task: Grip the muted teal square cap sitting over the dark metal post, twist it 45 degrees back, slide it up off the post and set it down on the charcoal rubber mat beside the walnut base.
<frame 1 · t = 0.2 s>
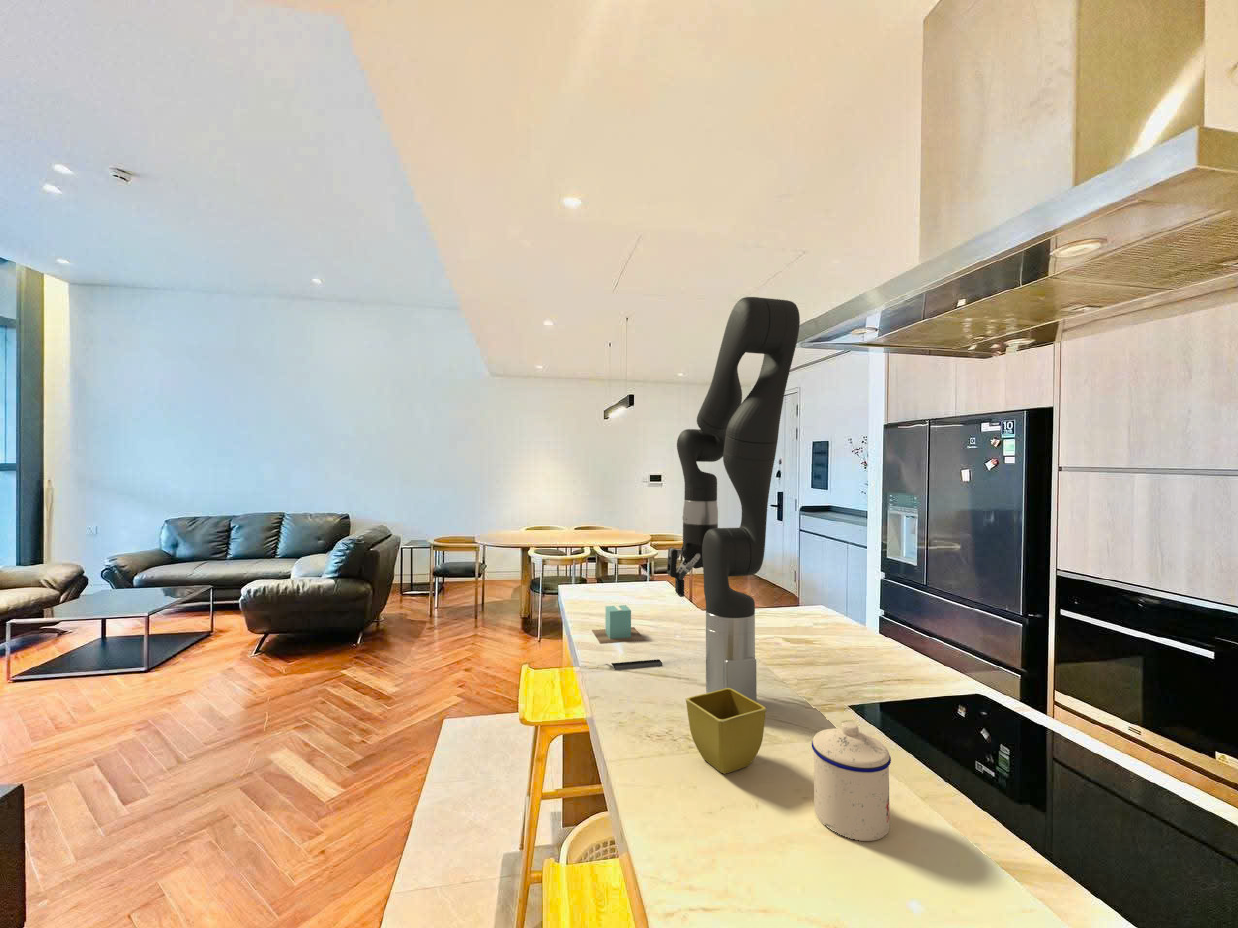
hand: (699, 595, 112), 17 cm above the countertop, tool pointing down, fingers open, 8 cm apart
flower pot: (725, 764, 77), on the countertop
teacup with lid: (844, 813, 66), on the countertop
post base: (618, 640, 136), on the countertop
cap: (618, 634, 136), point 1 cm above the countertop, touching post base
mat: (632, 659, 122), on the countertop
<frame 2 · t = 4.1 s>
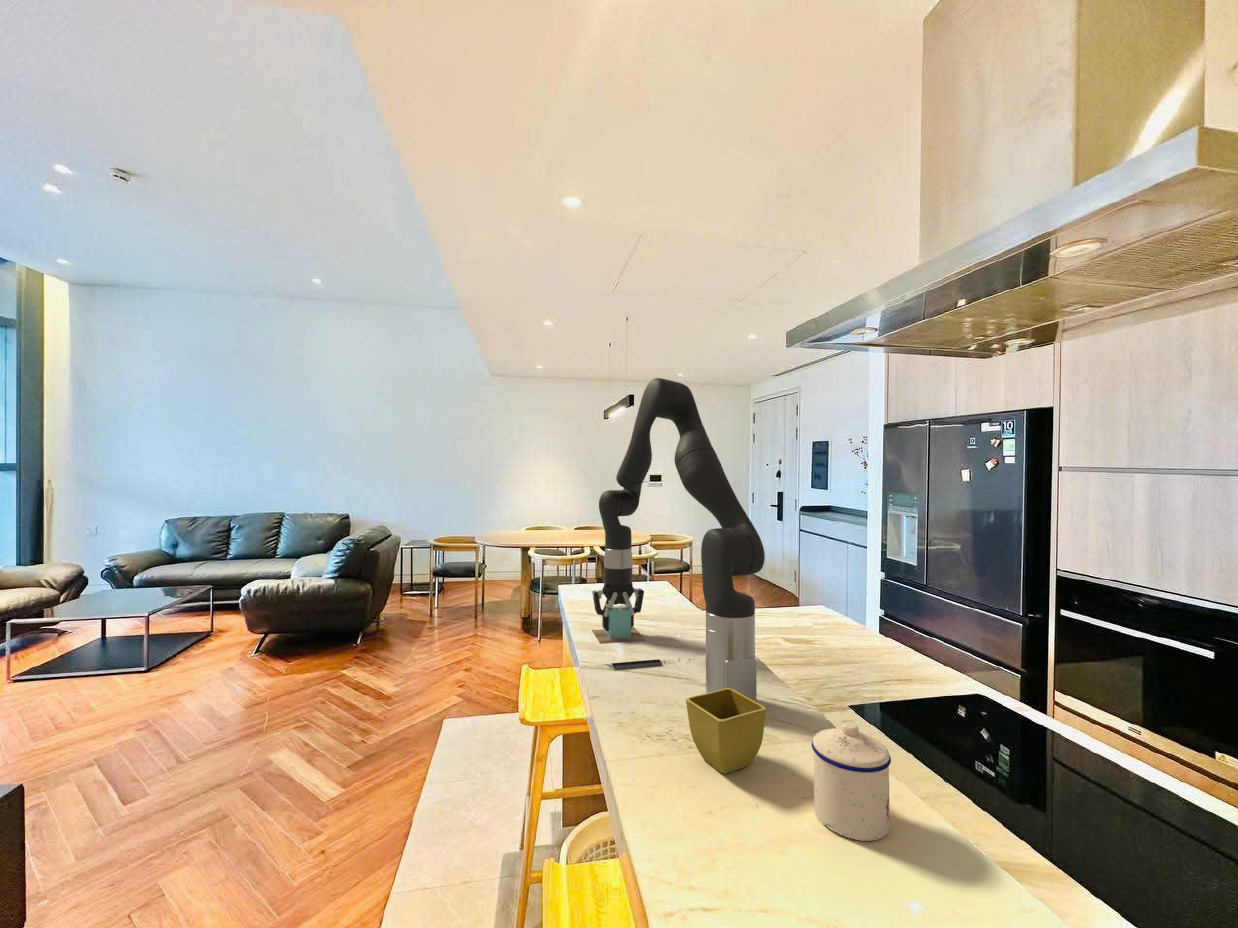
hand: (618, 629, 136), 3 cm above the countertop, tool pointing down, fingers closed on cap, 5 cm apart
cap: (618, 634, 136), point 2 cm above the countertop, touching gripper, post base
everything else where it was.
when the fingers open (4 cm above the countertop, at t = 12.1 s): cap drops 2 cm, resting on mat.
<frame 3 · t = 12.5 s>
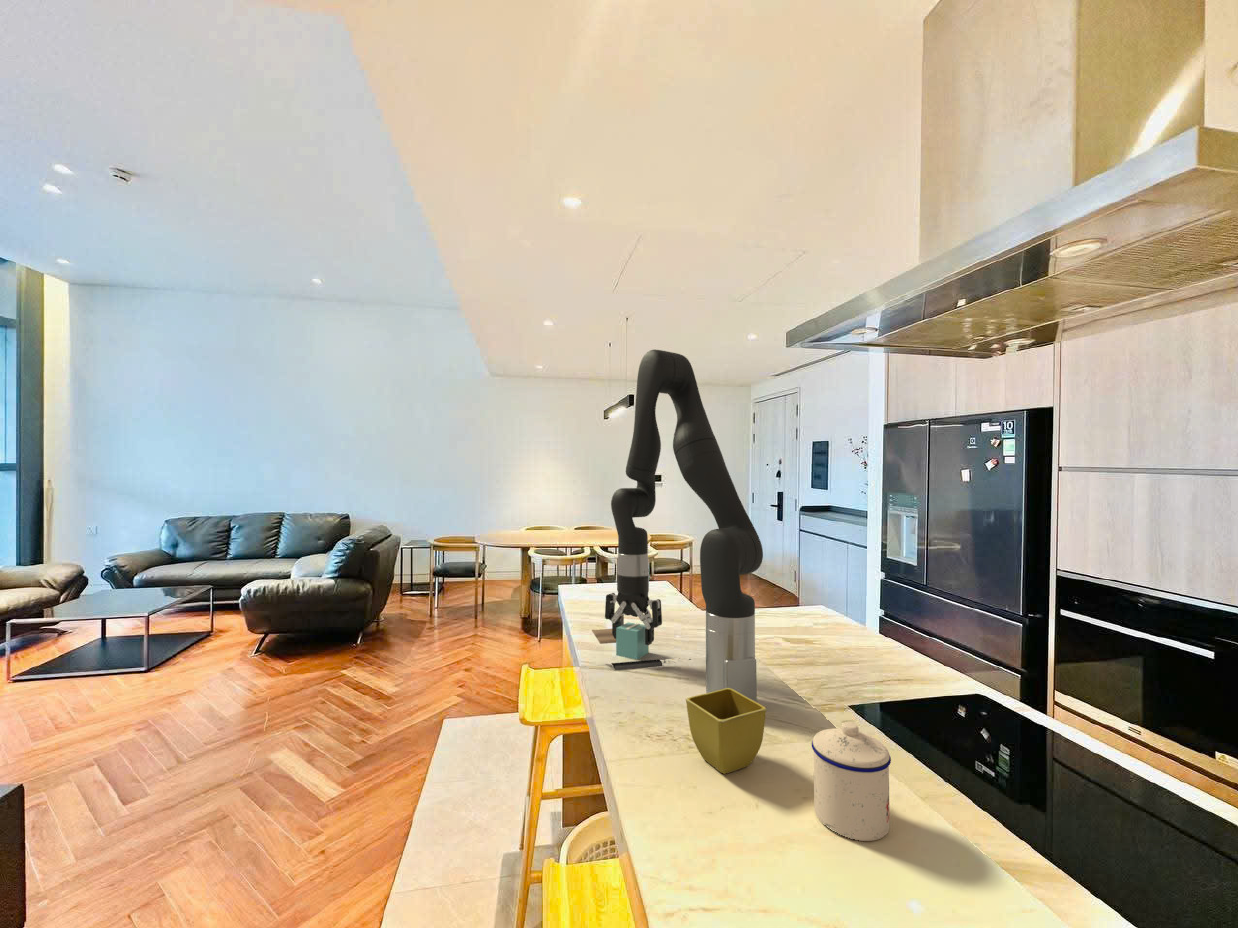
hand: (632, 641, 122), 4 cm above the countertop, tool pointing down, fingers open, 8 cm apart
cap: (632, 656, 121), point 1 cm above the countertop, touching mat
everything else where it was.
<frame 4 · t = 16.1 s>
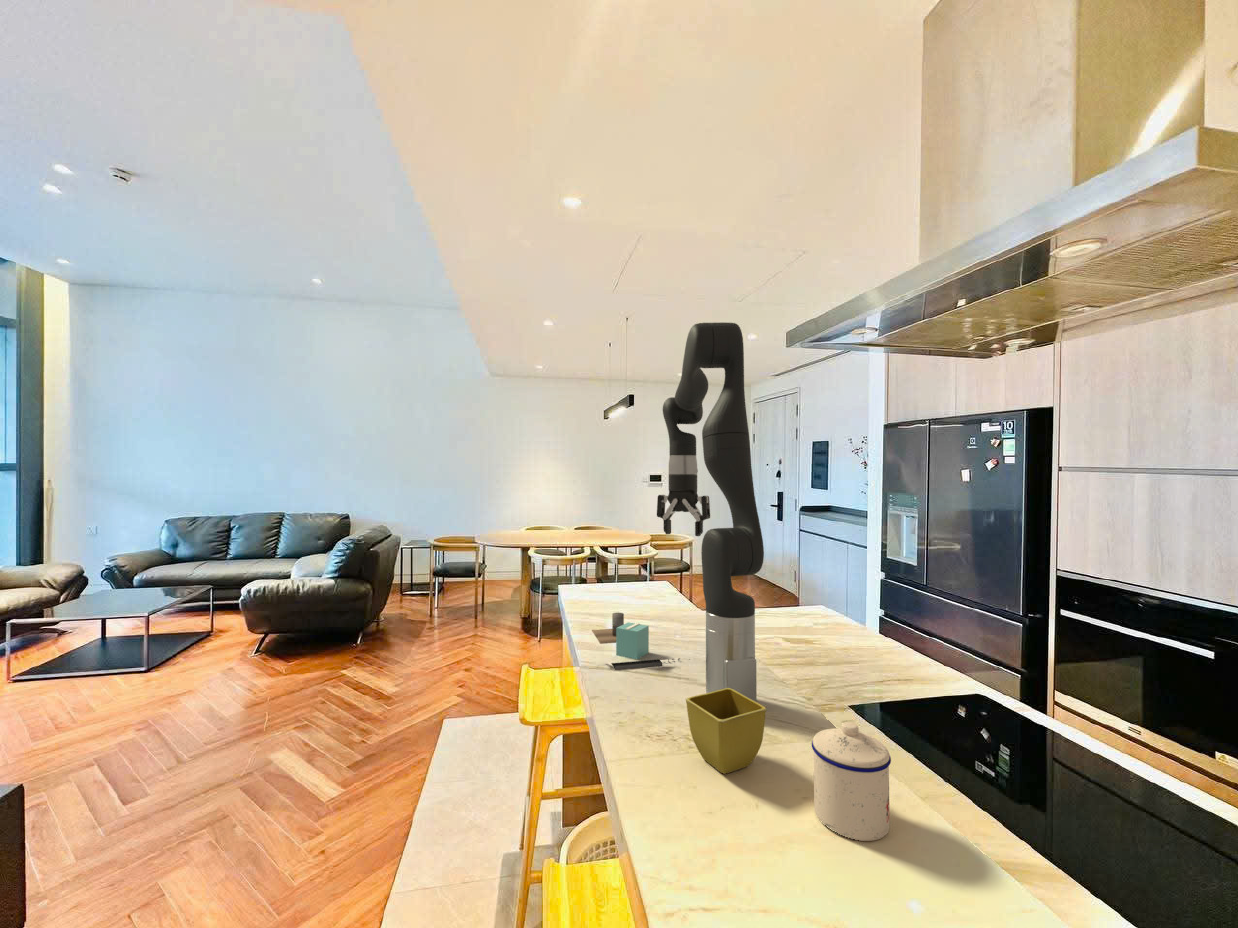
hand: (682, 534, 135), 28 cm above the countertop, tool pointing down, fingers open, 8 cm apart
nothing on the countertop moved.
at the end: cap 0.1 cm off-centre on the mat, point 0.8 cm above the mat's base; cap tilted 0°; the gripper is holding nothing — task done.
